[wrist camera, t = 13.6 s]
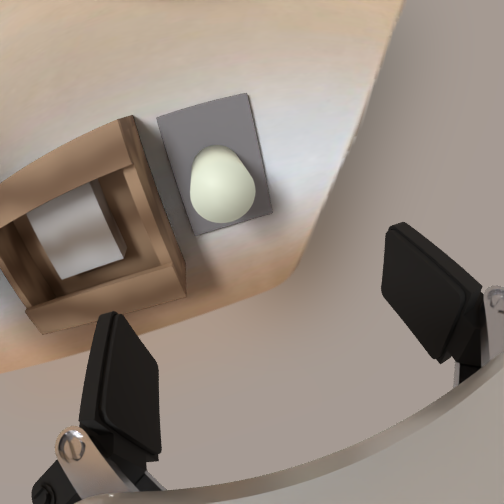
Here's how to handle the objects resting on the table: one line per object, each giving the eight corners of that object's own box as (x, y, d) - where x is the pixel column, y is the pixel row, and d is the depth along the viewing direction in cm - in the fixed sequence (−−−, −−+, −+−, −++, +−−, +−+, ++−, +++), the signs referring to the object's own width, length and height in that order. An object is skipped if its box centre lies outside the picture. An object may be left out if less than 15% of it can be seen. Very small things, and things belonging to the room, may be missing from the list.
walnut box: (-6, 188, 20) (-34, 209, 15) (132, 114, 21) (117, 119, 16) (56, 302, 28) (42, 334, 24) (185, 263, 30) (186, 296, 25)
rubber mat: (156, 117, 22) (156, 117, 21) (245, 92, 22) (246, 92, 22) (194, 233, 28) (194, 235, 28) (271, 211, 29) (272, 213, 28)
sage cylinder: (187, 150, 23) (184, 168, 17) (237, 140, 24) (251, 156, 18) (196, 195, 26) (197, 228, 20) (243, 186, 26) (258, 216, 20)
